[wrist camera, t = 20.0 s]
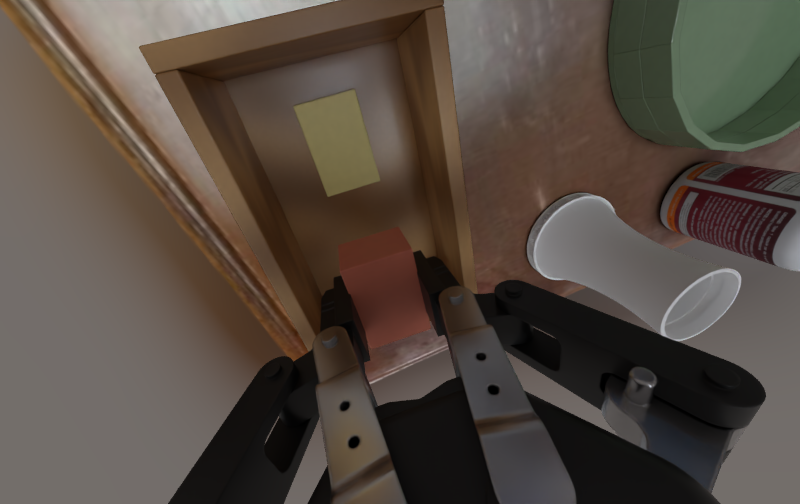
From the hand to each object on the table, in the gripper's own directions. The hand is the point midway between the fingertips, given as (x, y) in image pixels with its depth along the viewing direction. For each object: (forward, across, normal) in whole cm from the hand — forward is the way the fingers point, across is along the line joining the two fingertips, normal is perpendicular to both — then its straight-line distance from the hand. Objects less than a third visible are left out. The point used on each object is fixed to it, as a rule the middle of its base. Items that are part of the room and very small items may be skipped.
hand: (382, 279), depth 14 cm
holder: (+7, 0, -3) cm, 7 cm away
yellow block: (+6, 0, -6) cm, 9 cm away
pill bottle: (+7, -28, +6) cm, 29 cm away
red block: (+1, 0, 0) cm, 1 cm away
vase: (+7, -16, +6) cm, 18 cm away
